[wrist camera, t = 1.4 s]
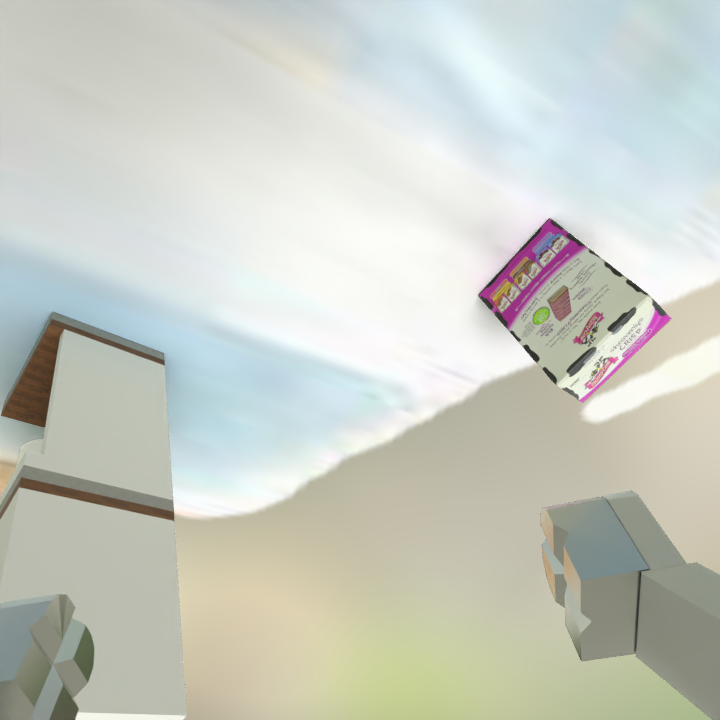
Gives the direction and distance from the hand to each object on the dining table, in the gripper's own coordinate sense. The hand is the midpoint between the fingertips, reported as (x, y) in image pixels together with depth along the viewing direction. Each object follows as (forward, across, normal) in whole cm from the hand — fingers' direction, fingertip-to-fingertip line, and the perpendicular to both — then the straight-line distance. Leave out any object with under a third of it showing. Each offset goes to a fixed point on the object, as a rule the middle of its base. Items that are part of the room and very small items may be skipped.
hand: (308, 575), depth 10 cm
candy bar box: (+56, -20, +18) cm, 62 cm away
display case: (+46, +26, +17) cm, 56 cm away
